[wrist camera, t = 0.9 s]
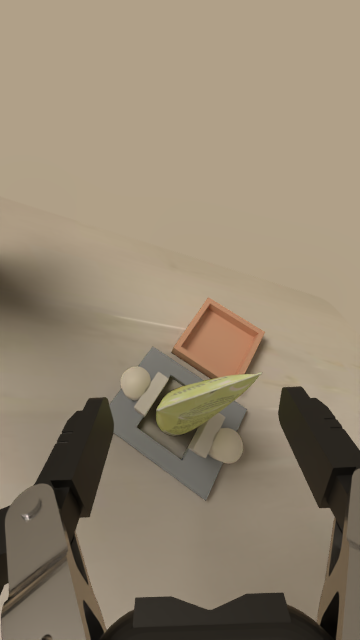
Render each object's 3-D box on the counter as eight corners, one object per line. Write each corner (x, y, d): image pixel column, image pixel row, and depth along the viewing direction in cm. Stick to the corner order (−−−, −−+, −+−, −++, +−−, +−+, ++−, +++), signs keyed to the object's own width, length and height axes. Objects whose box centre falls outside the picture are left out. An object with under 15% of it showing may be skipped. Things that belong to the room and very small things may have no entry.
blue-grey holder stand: (97, 419, 30) (89, 417, 26) (150, 348, 36) (152, 335, 31) (205, 499, 28) (217, 512, 24) (245, 411, 34) (261, 407, 29)
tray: (171, 352, 36) (173, 347, 34) (204, 304, 41) (208, 297, 38) (231, 392, 35) (237, 389, 32) (258, 337, 39) (265, 332, 37)
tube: (169, 386, 34) (199, 334, 16) (200, 404, 33) (264, 372, 16) (147, 423, 31) (156, 410, 14) (180, 444, 31) (232, 457, 13)
